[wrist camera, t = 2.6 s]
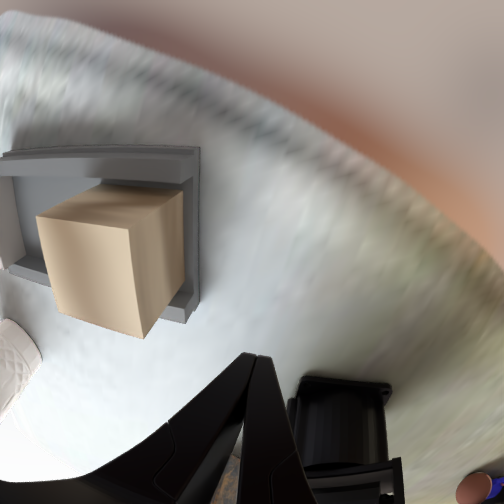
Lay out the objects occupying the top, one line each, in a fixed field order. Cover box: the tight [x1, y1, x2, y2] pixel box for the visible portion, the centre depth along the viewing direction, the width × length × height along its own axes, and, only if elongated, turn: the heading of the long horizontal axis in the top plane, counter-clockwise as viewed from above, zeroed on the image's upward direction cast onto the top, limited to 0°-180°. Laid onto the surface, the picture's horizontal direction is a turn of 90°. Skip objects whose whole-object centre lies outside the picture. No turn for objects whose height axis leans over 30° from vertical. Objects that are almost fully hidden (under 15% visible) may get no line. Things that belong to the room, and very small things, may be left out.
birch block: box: [36, 184, 185, 339], centre depth 14 cm, size 5×5×5 cm
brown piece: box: [210, 455, 240, 504], centre depth 24 cm, size 11×3×10 cm, turn 48°
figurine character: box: [456, 472, 504, 504], centre depth 22 cm, size 7×8×15 cm
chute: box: [0, 145, 200, 324], centre depth 16 cm, size 15×9×3 cm, turn 86°
